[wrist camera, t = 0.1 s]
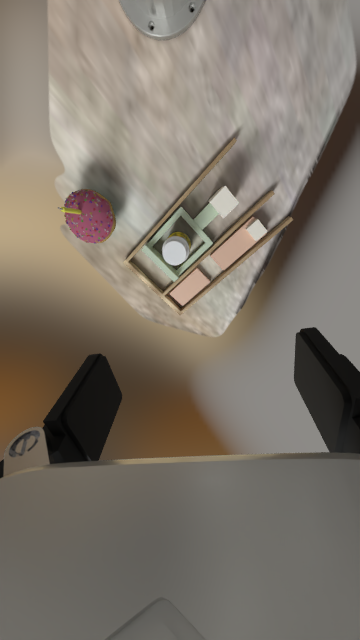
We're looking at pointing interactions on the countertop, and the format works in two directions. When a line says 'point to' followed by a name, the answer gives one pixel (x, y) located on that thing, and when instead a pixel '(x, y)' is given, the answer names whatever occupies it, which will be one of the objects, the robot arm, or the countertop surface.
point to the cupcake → (89, 216)
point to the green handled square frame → (218, 204)
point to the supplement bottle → (176, 248)
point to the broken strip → (221, 258)
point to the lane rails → (204, 255)
